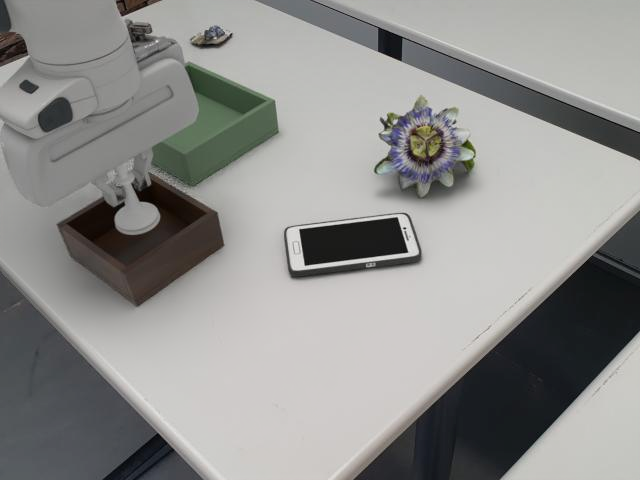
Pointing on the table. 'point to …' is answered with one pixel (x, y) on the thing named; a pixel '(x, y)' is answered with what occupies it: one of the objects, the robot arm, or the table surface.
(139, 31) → the lighter
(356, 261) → the cell phone
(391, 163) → the passion flower
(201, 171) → the sage bin
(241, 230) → the table surface
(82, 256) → the walnut bin
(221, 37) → the mineral rock specimen
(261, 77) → the table surface
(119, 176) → the chess piece
